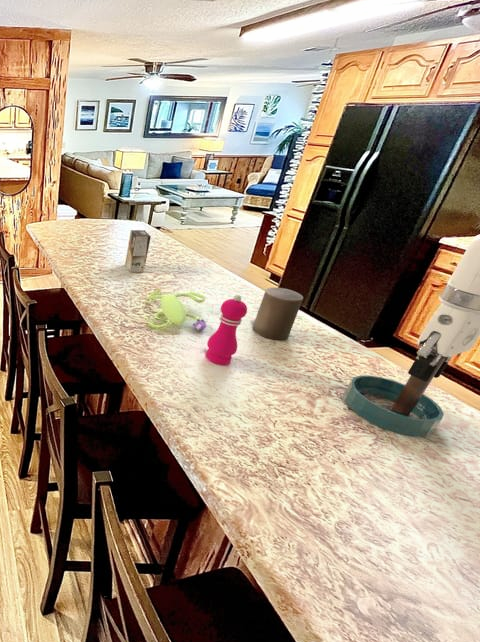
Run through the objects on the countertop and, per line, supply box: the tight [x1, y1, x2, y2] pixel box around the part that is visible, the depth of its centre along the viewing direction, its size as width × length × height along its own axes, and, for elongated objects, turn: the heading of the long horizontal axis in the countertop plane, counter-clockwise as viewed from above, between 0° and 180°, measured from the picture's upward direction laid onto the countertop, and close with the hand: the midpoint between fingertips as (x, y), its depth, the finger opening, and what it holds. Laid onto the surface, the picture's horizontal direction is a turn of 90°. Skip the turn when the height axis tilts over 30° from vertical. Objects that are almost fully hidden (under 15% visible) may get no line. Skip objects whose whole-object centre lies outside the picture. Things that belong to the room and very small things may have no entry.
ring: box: [341, 374, 445, 438], centre depth 88 cm, size 15×15×6 cm
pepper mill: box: [205, 294, 248, 366], centre depth 104 cm, size 7×7×20 cm
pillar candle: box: [252, 286, 304, 341], centre depth 119 cm, size 10×10×15 cm
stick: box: [383, 352, 446, 418], centre depth 83 cm, size 5×5×17 cm
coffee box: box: [124, 229, 152, 273], centre depth 167 cm, size 9×6×16 cm
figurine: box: [146, 289, 207, 331], centre depth 130 cm, size 18×27×6 cm
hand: (423, 374), depth 82 cm, fingers closed on stick, 3 cm apart
